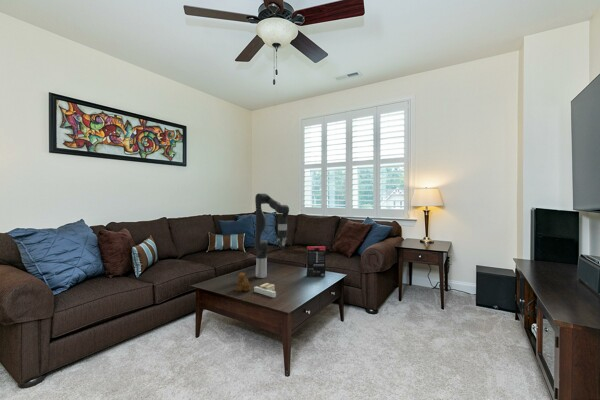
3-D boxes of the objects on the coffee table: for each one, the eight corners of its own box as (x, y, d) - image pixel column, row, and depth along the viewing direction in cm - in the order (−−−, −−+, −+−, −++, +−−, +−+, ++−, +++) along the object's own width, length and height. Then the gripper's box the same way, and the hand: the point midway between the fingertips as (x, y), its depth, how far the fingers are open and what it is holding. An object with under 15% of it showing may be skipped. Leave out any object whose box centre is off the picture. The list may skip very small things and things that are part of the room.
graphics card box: (324, 274, 260) (324, 245, 259) (325, 276, 253) (326, 246, 252) (306, 275, 258) (306, 245, 257) (307, 277, 251) (307, 247, 251)
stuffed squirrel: (243, 286, 227) (243, 270, 227) (254, 290, 217) (254, 273, 217) (233, 289, 220) (233, 272, 219) (244, 293, 210) (243, 276, 210)
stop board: (254, 291, 215) (254, 287, 215) (256, 290, 217) (256, 286, 217) (273, 297, 203) (273, 292, 203) (275, 296, 205) (275, 291, 205)
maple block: (259, 291, 215) (259, 285, 215) (267, 289, 221) (267, 282, 221) (267, 294, 210) (267, 287, 210) (274, 291, 216) (274, 284, 216)
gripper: (284, 228, 235) (284, 248, 236) (273, 229, 225) (273, 251, 225) (291, 228, 230) (290, 249, 231) (280, 230, 220) (280, 252, 221)
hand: (282, 250), depth 228 cm, fingers closed
